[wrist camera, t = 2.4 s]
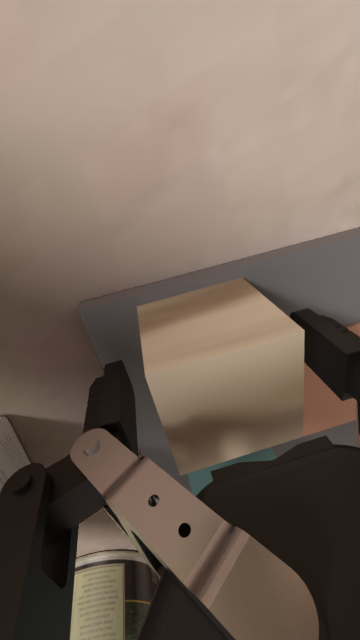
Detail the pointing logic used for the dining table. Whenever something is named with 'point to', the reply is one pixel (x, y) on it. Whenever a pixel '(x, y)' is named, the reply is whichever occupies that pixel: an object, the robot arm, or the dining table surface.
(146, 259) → the dining table surface
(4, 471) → the supplement box
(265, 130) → the dining table surface
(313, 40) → the dining table surface
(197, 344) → the ash block
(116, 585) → the coffee can
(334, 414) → the baseplate
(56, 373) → the dining table surface
